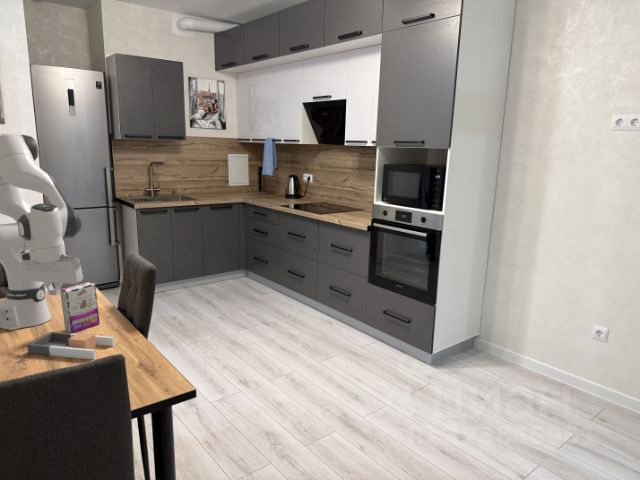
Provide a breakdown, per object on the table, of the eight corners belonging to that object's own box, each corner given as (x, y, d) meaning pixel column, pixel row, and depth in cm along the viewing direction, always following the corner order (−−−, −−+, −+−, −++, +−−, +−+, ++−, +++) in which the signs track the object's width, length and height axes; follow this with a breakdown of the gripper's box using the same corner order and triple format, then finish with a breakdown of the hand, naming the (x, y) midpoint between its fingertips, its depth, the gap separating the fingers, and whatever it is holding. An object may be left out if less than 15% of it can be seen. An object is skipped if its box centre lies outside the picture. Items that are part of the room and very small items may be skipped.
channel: (49, 355, 147) (48, 346, 146) (73, 341, 158) (72, 333, 157) (94, 359, 145) (93, 350, 144) (114, 345, 155) (114, 337, 155)
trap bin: (28, 353, 148) (27, 344, 148) (52, 339, 159) (52, 331, 158) (49, 355, 147) (48, 346, 146) (73, 341, 158) (72, 333, 157)
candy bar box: (92, 321, 176) (88, 281, 172) (100, 324, 173) (96, 283, 170) (63, 331, 166) (59, 288, 163) (71, 334, 164) (66, 291, 160)
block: (70, 353, 149) (68, 339, 148) (80, 346, 154) (78, 332, 153) (86, 354, 148) (84, 340, 147) (96, 348, 153) (94, 334, 152)
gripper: (85, 253, 147) (89, 293, 150) (30, 250, 150) (35, 289, 153) (71, 258, 141) (76, 299, 144) (14, 254, 144) (20, 295, 147)
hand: (54, 294), depth 149 cm, fingers closed
